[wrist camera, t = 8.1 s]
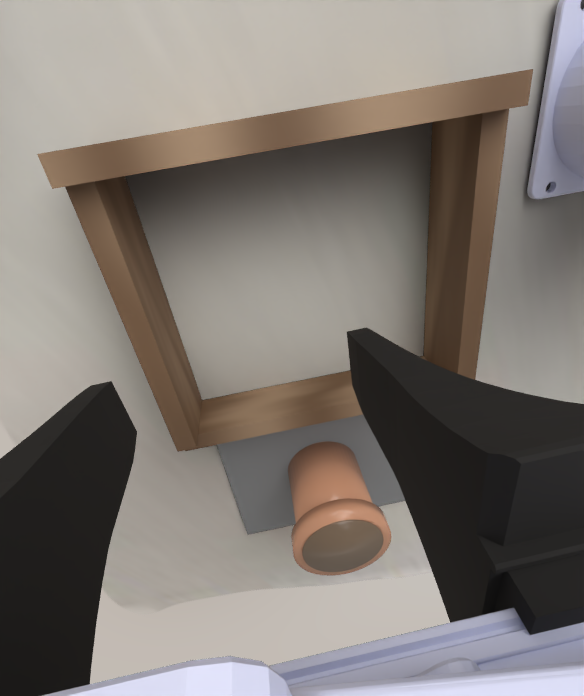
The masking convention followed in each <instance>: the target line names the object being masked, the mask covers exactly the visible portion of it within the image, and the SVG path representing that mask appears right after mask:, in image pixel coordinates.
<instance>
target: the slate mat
mask: <svg viewBox="0 0 584 696" xmlns="http://www.w3.org/2000/svg"><path fill="white" fill-rule="evenodd" d="M328 441H330V442H338V443H341V444H344V445H346V446H347V447H349V448H350V449H351V450H352V451H353V452H354V454H355V457H356V459H357V462H358V465H359V467H360V470H361V473H362V476H363V478H364V481H365V484H366V486H367V489H368V492H369V494H370V497H371V500H372V503H373V504H375V505H376V506H382V505H387V504H392V503H396V502H401V501H405V498H404V496H403V493H402V491H401V488H400V486H399V483H398V481H397V479H396V477H395V475H394V472H393V470H392V468H391V466H390V465H389V463H388V461H387V459H386V457H385V455H384V453H383V451H382V449H381V447H380V446H379V444H378V442H377V440H376V438H375V436H374V434H373V432H372V430H371V429H370V427H369V425H368V423H367V421H366V419H365V417H364V415H358V416H353V417H348V418H343V419H339V420H334V421H329V422H324V423H319V424H314V425H310V426H305V427H300V428H295V429H290V430H285V431H280V432H276V433H271V434H266V435H261V436H256V437H251V438H247V439H242V440H237V441H232V442H227V443H222V444H217V447H218V450H219V453H220V456H221V459H222V462H223V465H224V468H225V471H226V473H227V476H228V479H229V482H230V485H231V488H232V491H233V494H234V497H235V499H236V502H237V505H238V508H239V511H240V514H241V517H242V520H243V522H244V525H245V528H246V531H247V534H248V535H249V534H253V533H258V532H262V531H267V530H272V529H276V528H281V527H285V526H290V525H295V524H296V521H295V515H294V508H293V502H292V496H291V489H290V483H289V476H288V466H289V463H290V461H291V460H292V458H293V457H294V456H295V455H296V454H297V453H298V452H299V451H300V450H302V449H303V448H305V447H307V446H309V445H312V444H314V443H319V442H328Z"/></svg>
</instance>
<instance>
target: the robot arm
mask: <svg viewBox="0 0 584 696" xmlns="http://www.w3.org/2000/svg"><path fill="white" fill-rule="evenodd" d="M580 3H581V0H560V1H559V2H558V6H557V9H556V15H555V22H554V28H553V34H552V40H551V46H550V52H549V59H548V65H547V71H546V77H545V83H544V89H543V96H542V102H541V108H540V114H539V120H538V127H537V133H536V139H535V145H534V151H533V157H532V164H531V170H530V176H529V182H528V188H527V194H528V196H529V197H530V198H532V199H544V198H549V197H555V196H560V195H565V194H571V193H576V192H581V191H584V8H583V10H581V8H580ZM549 183H550V184H551V185H550V188H549V189H548V190H547V191H546V187H547V185H548V184H549ZM347 338H348V348H349V358H350V368H351V378H352V386H353V389H354V392H355V395H356V397H357V400H358V403H359V405H360V408H361V411H362V413H363V415H364V417H365V419H366V421H367V423H368V425H369V427H370V429H371V430H372V432H373V434H374V436H375V438H376V440H377V442H378V444H379V446H380V447H381V449H382V451H383V453H384V455H385V457H386V459H387V461H388V463H389V465H390V466H391V468H392V470H393V472H394V475H395V477H396V479H397V481H398V483H399V486H400V488H401V491H402V493H403V496H404V498H405V501H406V503H407V506H408V508H409V511H410V513H411V516H412V518H413V521H414V524H415V526H416V529H417V531H418V534H419V537H420V539H421V542H422V544H423V547H424V550H425V553H426V555H427V558H428V561H429V564H430V566H431V569H432V572H433V574H434V577H435V580H436V583H437V585H438V588H439V591H440V594H441V597H442V600H443V603H444V605H445V608H446V611H447V614H448V617H449V619H450V623H447V624H443V625H438V626H434V627H430V628H426V629H422V630H417V631H413V632H409V633H405V634H401V635H397V636H392V637H388V638H384V639H380V640H375V641H371V642H367V643H363V644H359V645H354V646H350V647H346V648H342V649H338V650H333V651H329V652H325V653H321V654H316V655H312V656H308V657H304V658H300V659H295V660H291V661H287V662H283V663H279V664H274V665H270V666H267V665H266V664H265V663H264V662H262V661H257V660H252V659H245V658H239V657H233V656H226V657H217V658H209V659H200V660H191V661H187V662H182V663H178V664H174V665H170V666H166V667H161V668H157V669H153V670H149V671H145V672H140V673H136V674H132V675H127V676H123V677H119V678H115V679H110V680H107V681H102V682H98V683H94V684H90V673H91V663H92V654H93V646H94V637H95V628H96V621H97V614H98V608H99V601H100V594H101V588H102V581H103V576H104V570H105V565H106V559H107V554H108V548H109V544H110V540H111V536H112V532H113V529H114V525H115V522H116V519H117V515H118V512H119V509H120V505H121V502H122V498H123V495H124V492H125V488H126V485H127V482H128V478H129V475H130V471H131V467H132V464H133V459H134V452H135V445H136V436H137V431H136V429H135V427H134V425H133V423H132V421H131V419H130V417H129V415H128V413H127V411H126V409H125V407H124V405H123V403H122V401H121V399H120V397H119V395H118V393H117V391H116V390H115V388H114V386H113V384H112V382H106V383H101V384H97V385H92V386H90V387H88V388H87V389H85V390H84V391H83V392H81V393H80V394H79V395H78V396H76V397H75V398H74V399H73V400H71V401H70V402H69V403H68V404H67V405H65V406H64V407H63V408H62V409H61V410H59V411H58V412H57V413H56V414H55V415H54V416H52V417H51V418H50V419H49V420H48V421H46V422H45V423H44V424H43V425H42V426H41V427H39V428H38V429H37V430H36V431H35V432H33V433H32V434H31V435H30V436H28V437H27V438H26V439H25V440H23V441H22V442H21V443H20V444H18V445H17V446H16V447H15V448H13V449H12V450H11V451H10V452H8V453H7V454H6V455H5V456H3V457H2V458H1V459H0V696H584V404H578V403H571V402H564V401H558V400H553V399H548V398H543V397H538V396H533V395H529V394H524V393H520V392H516V391H512V390H508V389H504V388H501V387H497V386H493V385H490V384H486V383H483V382H480V381H477V380H474V379H471V378H468V377H465V376H463V375H460V374H457V373H454V372H452V371H449V370H447V369H444V368H442V367H440V366H437V365H435V364H433V363H431V362H429V361H427V360H424V359H422V358H420V357H418V356H416V355H414V354H412V353H410V352H409V351H407V350H405V349H403V348H401V347H399V346H398V345H396V344H394V343H392V342H391V341H389V340H387V339H385V338H384V337H382V336H380V335H379V334H377V333H375V332H374V331H372V330H370V329H368V328H363V329H358V330H353V331H348V332H347Z"/></svg>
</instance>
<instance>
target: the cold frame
mask: <svg viewBox="0 0 584 696" xmlns="http://www.w3.org/2000/svg"><path fill="white" fill-rule="evenodd" d="M532 74H533V69H531V70H525V71H519V72H513V73H507V74H501V75H496V76H490V77H484V78H478V79H472V80H467V81H461V82H455V83H449V84H443V85H437V86H432V87H426V88H420V89H414V90H408V91H403V92H397V93H391V94H385V95H379V96H373V97H368V98H362V99H356V100H350V101H344V102H339V103H333V104H327V105H321V106H315V107H309V108H304V109H298V110H292V111H286V112H280V113H274V114H269V115H263V116H257V117H251V118H245V119H240V120H234V121H228V122H222V123H216V124H210V125H205V126H199V127H193V128H187V129H181V130H176V131H170V132H164V133H158V134H152V135H146V136H141V137H135V138H129V139H123V140H117V141H111V142H106V143H100V144H94V145H88V146H82V147H77V148H71V149H65V150H59V151H53V152H47V153H42V154H37V155H38V157H39V159H40V162H41V164H42V166H43V168H44V171H45V173H46V175H47V177H48V180H49V182H50V184H51V186H52V189H54V188H59V187H65V188H66V190H67V192H68V195H69V197H70V199H71V202H72V204H73V206H74V209H75V211H76V213H77V216H78V218H79V220H80V223H81V225H82V228H83V230H84V232H85V235H86V237H87V239H88V242H89V244H90V246H91V249H92V251H93V253H94V256H95V258H96V260H97V263H98V265H99V267H100V270H101V272H102V275H103V277H104V279H105V282H106V284H107V286H108V289H109V291H110V293H111V296H112V298H113V300H114V303H115V305H116V307H117V310H118V312H119V315H120V317H121V319H122V322H123V324H124V326H125V329H126V331H127V333H128V336H129V338H130V340H131V343H132V345H133V347H134V350H135V352H136V355H137V357H138V359H139V362H140V364H141V366H142V369H143V371H144V373H145V376H146V378H147V380H148V383H149V385H150V387H151V390H152V392H153V395H154V397H155V399H156V402H157V404H158V406H159V409H160V411H161V413H162V416H163V418H164V420H165V423H166V425H167V427H168V430H169V432H170V435H171V437H172V439H173V442H174V444H175V446H176V449H177V451H183V450H185V451H188V450H193V449H198V448H203V447H208V446H213V445H217V444H222V443H227V442H232V441H237V440H242V439H247V438H251V437H256V436H261V435H266V434H271V433H276V432H280V431H285V430H290V429H295V428H300V427H305V426H310V425H314V424H319V423H324V422H329V421H334V420H339V419H343V418H348V417H353V416H358V415H363V413H362V411H361V408H360V405H359V403H358V400H357V397H356V395H355V392H354V389H353V386H352V378H351V371H346V372H341V373H336V374H331V375H326V376H321V377H316V378H311V379H306V380H301V381H296V382H291V383H286V384H281V385H276V386H271V387H266V388H261V389H256V390H251V391H246V392H241V393H236V394H231V395H226V396H221V397H216V398H211V399H206V400H202V399H201V396H200V393H199V390H198V387H197V384H196V381H195V378H194V375H193V372H192V370H191V367H190V364H189V361H188V358H187V355H186V352H185V349H184V346H183V343H182V341H181V338H180V335H179V332H178V329H177V326H176V323H175V320H174V317H173V314H172V312H171V309H170V306H169V303H168V300H167V297H166V294H165V291H164V288H163V285H162V283H161V280H160V277H159V274H158V271H157V268H156V265H155V262H154V259H153V256H152V254H151V251H150V248H149V245H148V242H147V239H146V236H145V233H144V230H143V227H142V224H141V222H140V219H139V216H138V213H137V210H136V207H135V204H134V201H133V198H132V195H131V193H130V190H129V187H128V184H127V181H126V178H125V176H128V175H133V174H139V173H145V172H150V171H156V170H162V169H167V168H173V167H179V166H185V165H190V164H196V163H202V162H207V161H213V160H219V159H224V158H230V157H236V156H241V155H247V154H253V153H259V152H264V151H270V150H276V149H281V148H287V147H293V146H298V145H304V144H310V143H315V142H321V141H327V140H333V139H338V138H344V137H350V136H355V135H361V134H367V133H372V132H378V131H384V130H389V129H395V128H401V127H407V126H412V125H418V124H424V123H429V122H432V147H431V173H430V200H429V226H428V253H427V279H426V306H425V332H424V356H420V358H422V359H424V360H427V361H429V362H431V363H433V364H435V365H437V366H440V367H442V368H444V369H447V370H449V371H452V372H454V373H457V374H460V375H463V376H465V377H468V378H471V379H474V380H475V376H476V368H477V360H478V352H479V344H480V337H481V329H482V321H483V313H484V305H485V297H486V289H487V281H488V273H489V265H490V257H491V249H492V241H493V233H494V225H495V217H496V209H497V201H498V193H499V186H500V178H501V170H502V162H503V154H504V146H505V138H506V130H507V122H508V114H509V108H515V107H520V106H526V105H528V101H529V94H530V87H531V80H532Z"/></svg>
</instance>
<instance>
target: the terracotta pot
mask: <svg viewBox="0 0 584 696" xmlns="http://www.w3.org/2000/svg"><path fill="white" fill-rule="evenodd" d="M288 476H289V483H290V489H291V496H292V502H293V508H294V515H295V521H296V524H295V526H294V528H293V530H292V535H291V538H292V546H293V553H294V558H295V561H296V562H297V564H298V565H299V566H300V567H301V568H303V569H304V570H306V571H308V572H311V573H314V574H319V575H341V574H346V573H350V572H354V571H357V570H359V569H362V568H364V567H366V566H368V565H370V564H371V563H373V562H374V561H376V560H377V559H378V558H380V557H381V556H382V555H383V554H384V552H385V551H386V550H387V548H388V546H389V544H390V541H391V532H390V529H389V526H388V523H387V521H386V518H385V516H384V513H383V512H382V510H381V509H380V508H379V507H378V506H376V505H375V504H373V503H372V500H371V497H370V494H369V492H368V489H367V486H366V484H365V481H364V478H363V476H362V473H361V470H360V467H359V465H358V462H357V459H356V457H355V454H354V452H353V451H352V450H351V449H350V448H349V447H347V446H346V445H344V444H341V443H338V442H330V441H328V442H319V443H314V444H312V445H309V446H307V447H305V448H303V449H302V450H300V451H299V452H298V453H297V454H296V455H295V456H294V457H293V458H292V460H291V461H290V463H289V466H288Z"/></svg>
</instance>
